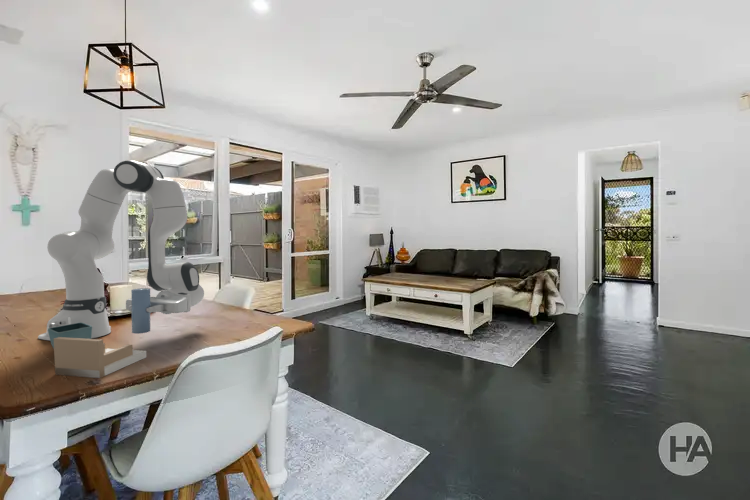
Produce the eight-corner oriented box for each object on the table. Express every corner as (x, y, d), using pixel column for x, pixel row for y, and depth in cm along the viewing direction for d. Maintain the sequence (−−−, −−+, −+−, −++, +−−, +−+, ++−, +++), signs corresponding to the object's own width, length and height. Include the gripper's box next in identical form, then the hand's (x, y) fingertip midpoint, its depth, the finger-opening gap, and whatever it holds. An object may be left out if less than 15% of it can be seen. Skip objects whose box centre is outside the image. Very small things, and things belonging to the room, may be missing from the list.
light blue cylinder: (127, 332, 118) (127, 290, 117) (140, 328, 123) (140, 287, 122) (141, 334, 117) (141, 291, 116) (154, 329, 122) (153, 288, 121)
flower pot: (59, 361, 108) (57, 332, 108) (48, 356, 113) (47, 328, 112) (94, 353, 115) (92, 325, 115) (82, 348, 120) (81, 322, 120)
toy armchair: (55, 374, 99) (53, 338, 98) (107, 354, 114) (106, 323, 114) (99, 378, 96) (98, 341, 96) (146, 357, 112) (145, 325, 112)
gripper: (144, 291, 133) (111, 297, 120) (194, 294, 130) (166, 301, 117) (144, 308, 134) (111, 316, 120) (194, 311, 131) (166, 321, 117)
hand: (138, 309), depth 118 cm, fingers closed on light blue cylinder, 5 cm apart
